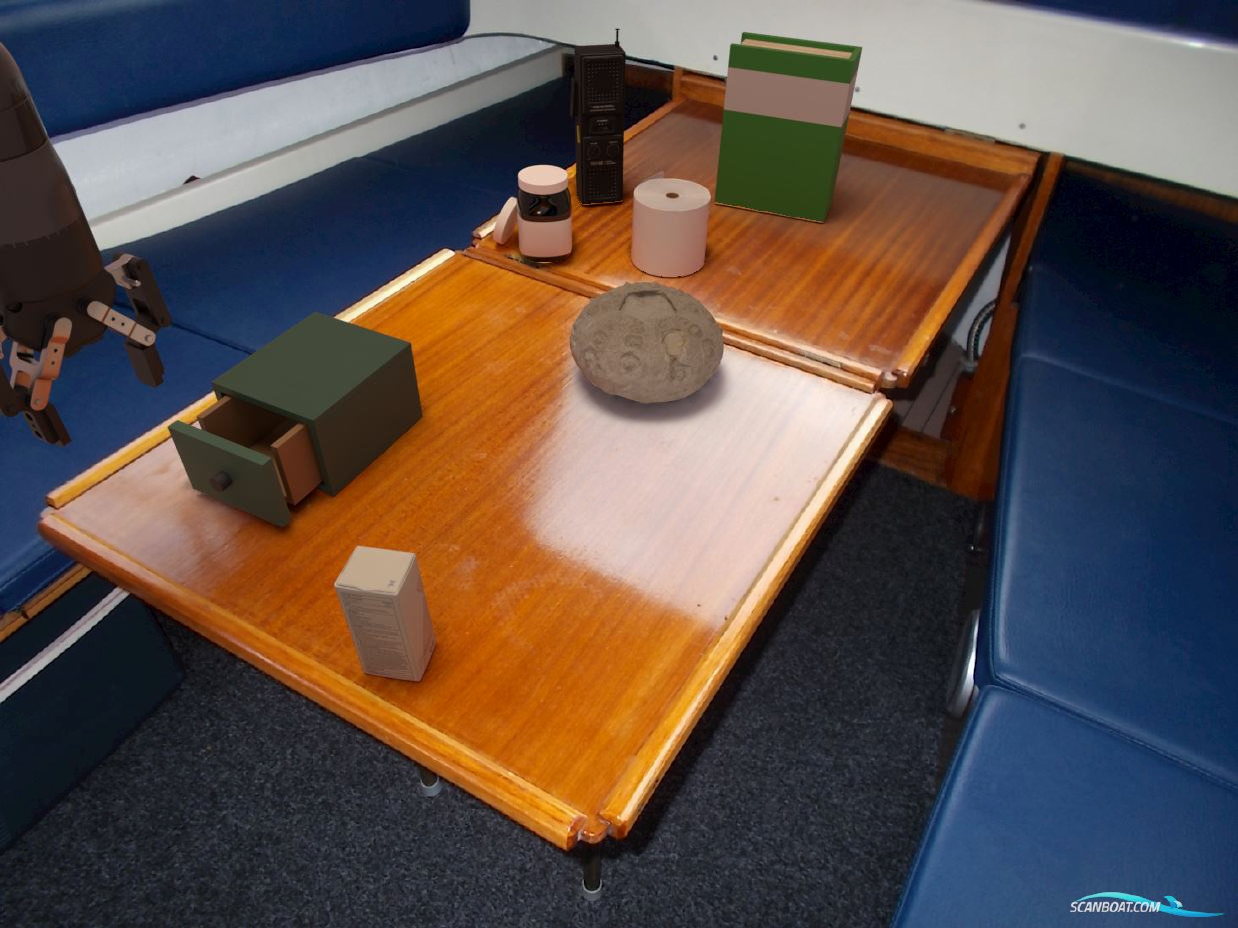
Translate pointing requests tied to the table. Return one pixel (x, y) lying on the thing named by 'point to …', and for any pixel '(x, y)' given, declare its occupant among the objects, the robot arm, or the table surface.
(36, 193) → the robot arm
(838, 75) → the hardback book
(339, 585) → the box
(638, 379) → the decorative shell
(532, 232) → the spread jar
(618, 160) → the portable radio
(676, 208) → the toilet tissue
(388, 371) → the cabinet
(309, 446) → the drawer
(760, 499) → the table surface
